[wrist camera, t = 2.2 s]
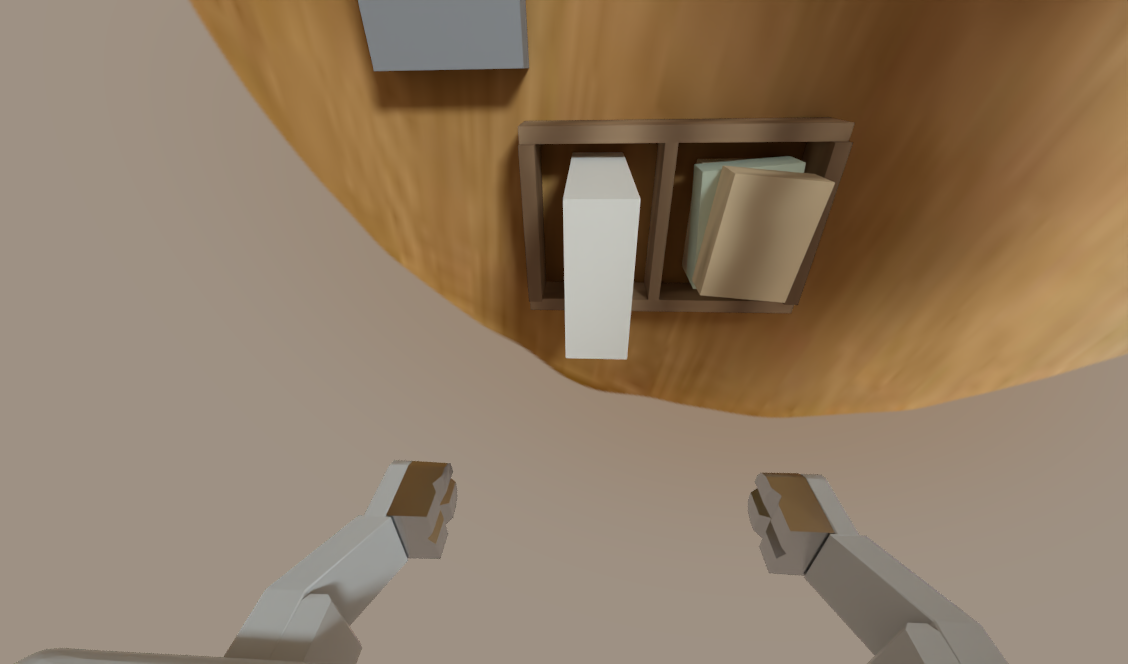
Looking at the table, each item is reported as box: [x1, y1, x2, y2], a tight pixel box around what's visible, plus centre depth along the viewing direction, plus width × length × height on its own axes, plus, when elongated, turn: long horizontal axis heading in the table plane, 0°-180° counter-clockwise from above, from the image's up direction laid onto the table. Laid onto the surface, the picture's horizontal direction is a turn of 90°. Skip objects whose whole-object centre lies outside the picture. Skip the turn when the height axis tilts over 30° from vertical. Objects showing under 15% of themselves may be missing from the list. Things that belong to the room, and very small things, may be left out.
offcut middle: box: [686, 156, 806, 289], centre depth 28 cm, size 6×8×2 cm
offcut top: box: [692, 165, 835, 303], centre depth 26 cm, size 6×8×2 cm
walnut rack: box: [518, 117, 855, 313], centre depth 29 cm, size 20×13×4 cm, turn 91°
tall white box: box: [563, 152, 641, 359], centre depth 26 cm, size 4×9×12 cm, turn 1°
